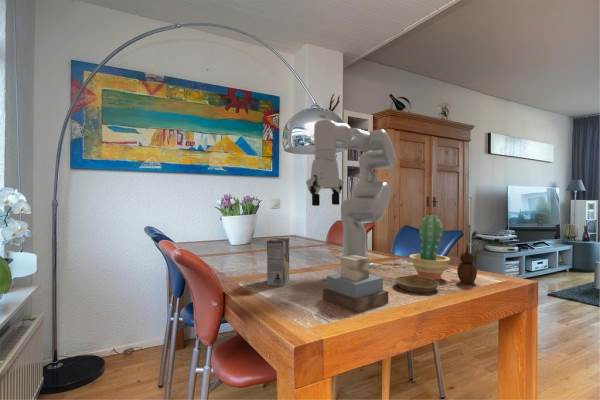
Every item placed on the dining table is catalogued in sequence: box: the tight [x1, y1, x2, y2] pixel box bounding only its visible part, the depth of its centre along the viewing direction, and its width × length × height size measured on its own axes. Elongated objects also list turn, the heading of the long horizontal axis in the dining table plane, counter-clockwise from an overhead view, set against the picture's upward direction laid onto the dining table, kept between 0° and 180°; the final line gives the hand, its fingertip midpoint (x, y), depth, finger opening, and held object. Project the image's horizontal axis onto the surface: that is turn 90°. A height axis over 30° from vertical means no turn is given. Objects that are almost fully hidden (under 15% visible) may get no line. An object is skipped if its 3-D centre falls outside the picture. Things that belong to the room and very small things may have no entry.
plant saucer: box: [394, 275, 440, 294], centre depth 109 cm, size 15×15×3 cm
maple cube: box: [340, 255, 370, 281], centre depth 94 cm, size 6×6×6 cm
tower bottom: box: [322, 286, 389, 314], centre depth 94 cm, size 14×14×4 cm
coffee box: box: [266, 237, 290, 287], centre depth 115 cm, size 9×6×16 cm
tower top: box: [326, 272, 384, 299], centre depth 94 cm, size 12×12×4 cm
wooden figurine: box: [456, 243, 478, 284], centre depth 116 cm, size 7×6×15 cm
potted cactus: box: [409, 214, 451, 281], centre depth 124 cm, size 15×15×25 cm
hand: (325, 205), depth 109 cm, fingers open, 9 cm apart
